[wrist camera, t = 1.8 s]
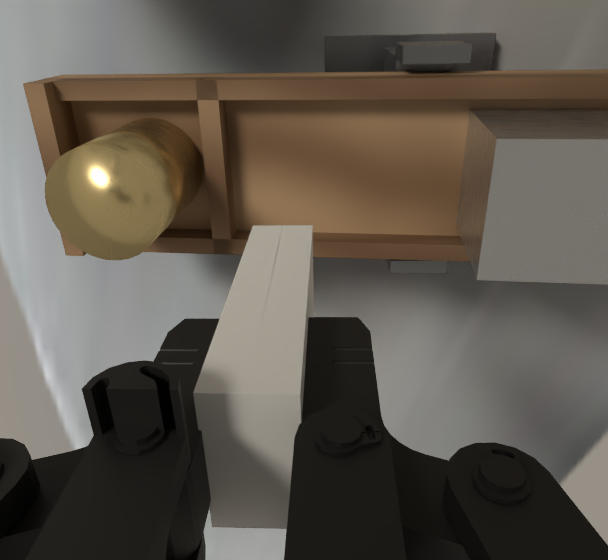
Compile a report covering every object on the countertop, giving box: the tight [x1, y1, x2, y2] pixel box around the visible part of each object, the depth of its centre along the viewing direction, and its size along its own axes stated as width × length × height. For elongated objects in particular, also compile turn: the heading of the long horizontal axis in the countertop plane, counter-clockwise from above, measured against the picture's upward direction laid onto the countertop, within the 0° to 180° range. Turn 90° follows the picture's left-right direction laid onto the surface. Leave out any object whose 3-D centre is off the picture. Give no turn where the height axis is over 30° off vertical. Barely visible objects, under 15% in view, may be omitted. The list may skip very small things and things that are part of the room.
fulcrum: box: [325, 33, 496, 273], centre depth 24 cm, size 9×8×8 cm
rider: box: [456, 109, 608, 285], centre depth 18 cm, size 5×5×5 cm
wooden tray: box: [23, 70, 608, 262], centre depth 21 cm, size 7×30×3 cm, turn 91°
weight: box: [45, 117, 203, 260], centre depth 20 cm, size 4×4×5 cm
